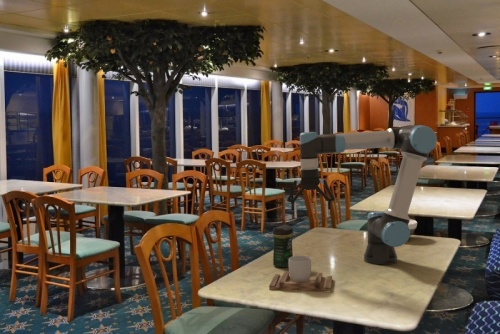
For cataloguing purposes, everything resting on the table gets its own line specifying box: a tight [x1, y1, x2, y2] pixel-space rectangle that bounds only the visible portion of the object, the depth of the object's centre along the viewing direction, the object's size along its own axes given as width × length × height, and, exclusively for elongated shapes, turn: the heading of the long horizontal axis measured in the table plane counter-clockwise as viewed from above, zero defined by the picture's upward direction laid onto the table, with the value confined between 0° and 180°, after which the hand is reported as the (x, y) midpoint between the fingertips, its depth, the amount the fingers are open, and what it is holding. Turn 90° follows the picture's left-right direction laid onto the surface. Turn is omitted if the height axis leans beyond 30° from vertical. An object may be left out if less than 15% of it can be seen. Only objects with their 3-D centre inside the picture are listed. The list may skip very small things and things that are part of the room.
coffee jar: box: [272, 224, 294, 268], centre depth 252 cm, size 10×8×19 cm
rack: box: [268, 271, 333, 292], centre depth 224 cm, size 24×16×3 cm, turn 79°
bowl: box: [408, 218, 418, 239], centre depth 301 cm, size 20×20×10 cm
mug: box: [288, 255, 312, 282], centre depth 224 cm, size 13×9×10 cm
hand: (311, 217), depth 237 cm, fingers open, 13 cm apart
